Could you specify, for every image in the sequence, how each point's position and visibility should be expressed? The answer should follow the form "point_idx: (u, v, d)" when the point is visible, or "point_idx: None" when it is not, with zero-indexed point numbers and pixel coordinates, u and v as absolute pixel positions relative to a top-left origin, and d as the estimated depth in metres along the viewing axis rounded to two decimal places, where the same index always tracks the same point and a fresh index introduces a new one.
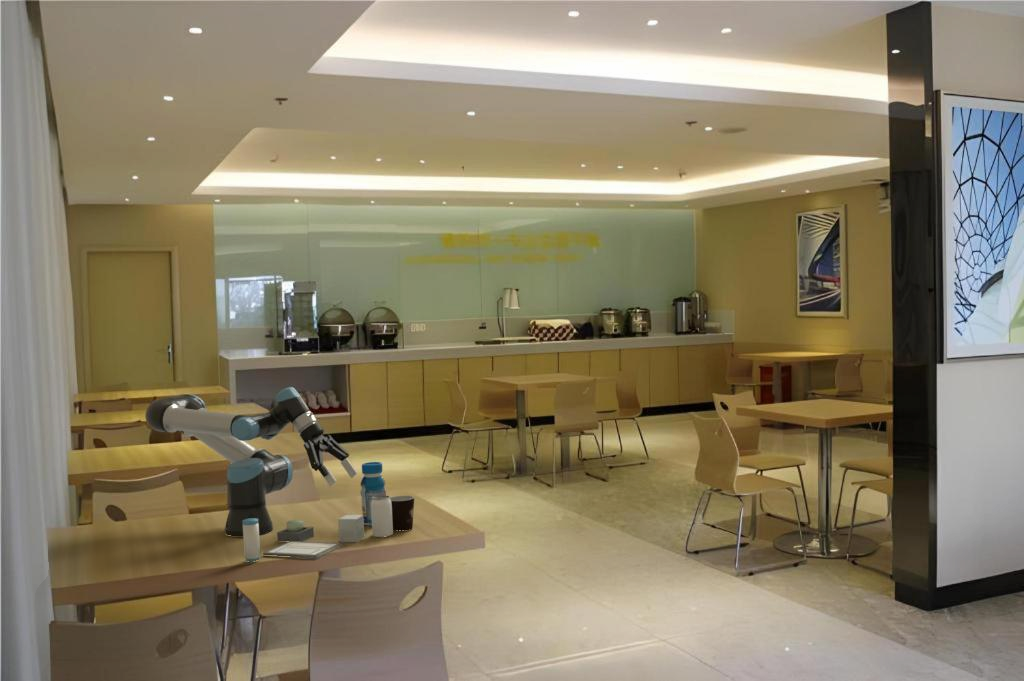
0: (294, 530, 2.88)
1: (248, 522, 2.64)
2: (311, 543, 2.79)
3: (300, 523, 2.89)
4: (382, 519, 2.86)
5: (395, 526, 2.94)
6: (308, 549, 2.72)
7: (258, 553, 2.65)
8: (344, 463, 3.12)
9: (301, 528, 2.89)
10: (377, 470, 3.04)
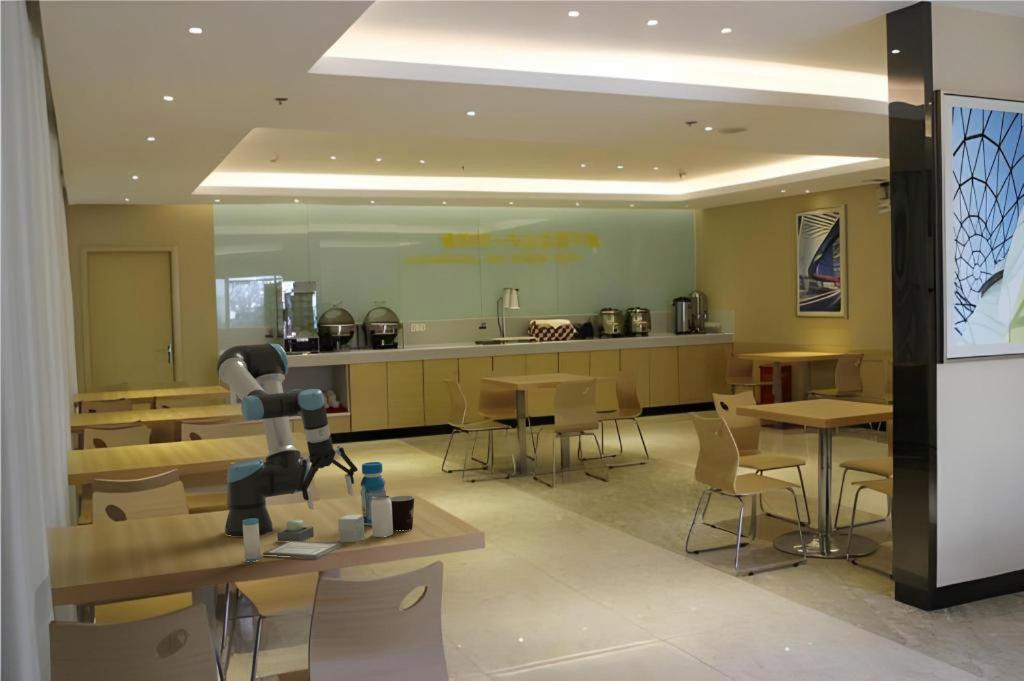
0: (294, 530, 2.88)
1: (248, 522, 2.64)
2: (311, 543, 2.79)
3: (300, 523, 2.89)
4: (382, 519, 2.86)
5: (395, 526, 2.94)
6: (308, 549, 2.72)
7: (258, 553, 2.65)
8: (346, 478, 2.94)
9: (301, 528, 2.89)
10: (377, 470, 3.04)
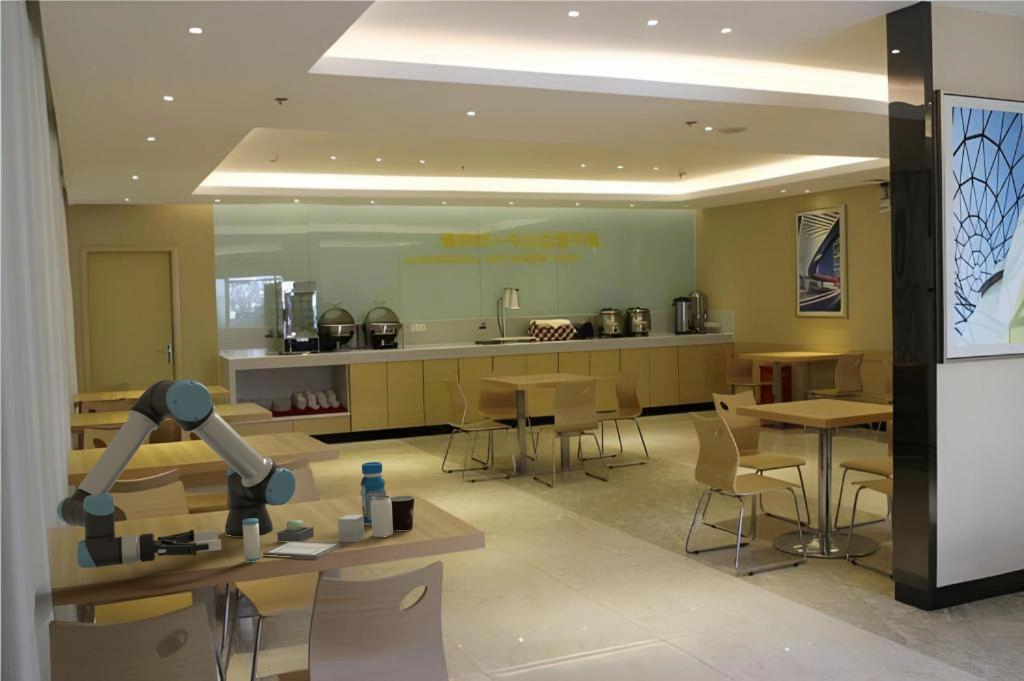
0: (294, 530, 2.88)
1: (248, 522, 2.64)
2: (311, 543, 2.79)
3: (300, 523, 2.89)
4: (382, 519, 2.86)
5: (395, 526, 2.94)
6: (308, 549, 2.72)
7: (258, 553, 2.65)
8: None
9: (301, 528, 2.89)
10: (377, 470, 3.04)
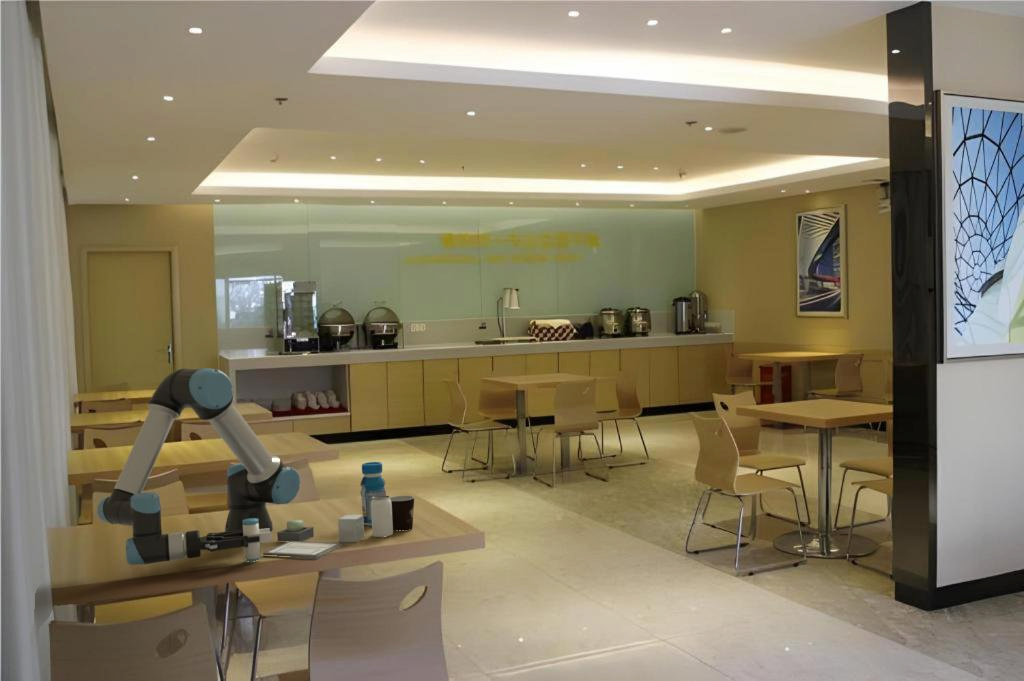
0: (294, 530, 2.88)
1: (248, 522, 2.64)
2: (311, 543, 2.79)
3: (300, 523, 2.89)
4: (382, 519, 2.86)
5: (395, 526, 2.94)
6: (308, 549, 2.72)
7: (258, 553, 2.65)
8: None
9: (301, 528, 2.89)
10: (377, 470, 3.04)
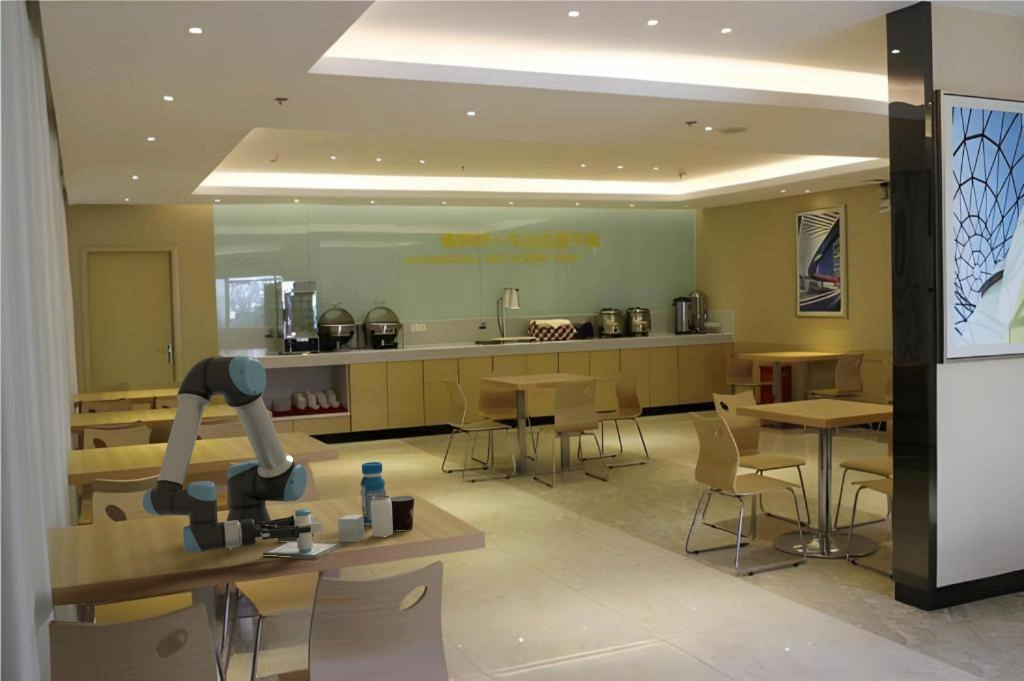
0: None
1: (301, 513, 2.68)
2: None
3: None
4: (382, 519, 2.86)
5: (395, 526, 2.94)
6: None
7: (311, 543, 2.69)
8: None
9: None
10: (377, 470, 3.04)
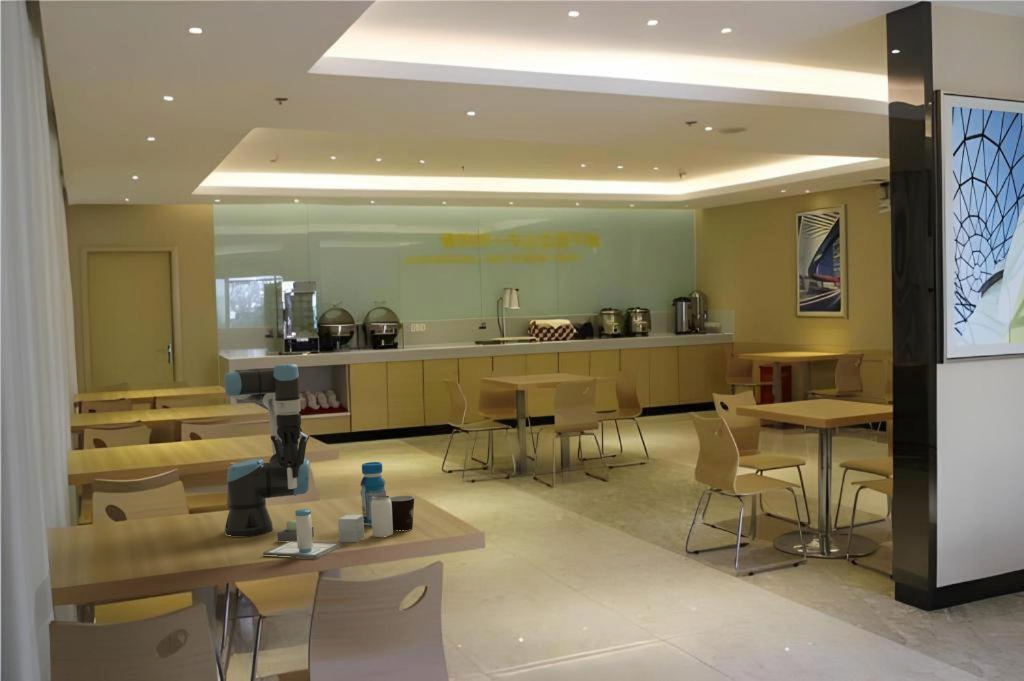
0: (294, 530, 2.88)
1: (301, 513, 2.68)
2: None
3: None
4: (382, 519, 2.86)
5: (395, 526, 2.94)
6: None
7: (311, 543, 2.69)
8: None
9: None
10: (377, 470, 3.04)
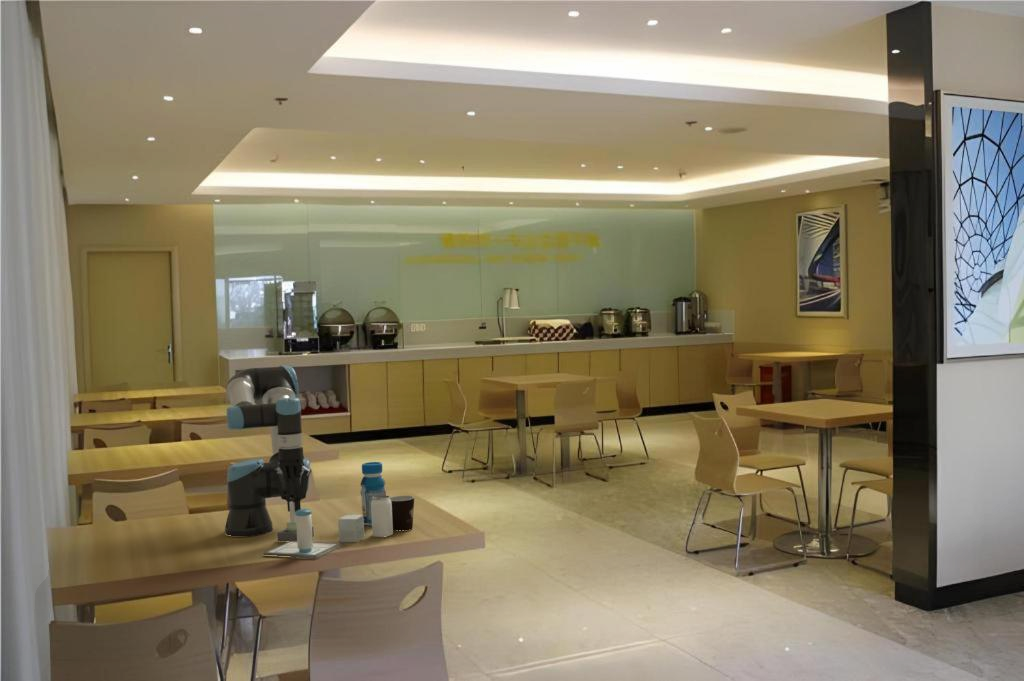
0: (294, 531, 2.88)
1: (302, 513, 2.68)
2: None
3: None
4: (382, 519, 2.86)
5: (395, 526, 2.94)
6: None
7: (311, 543, 2.69)
8: None
9: None
10: (377, 470, 3.04)
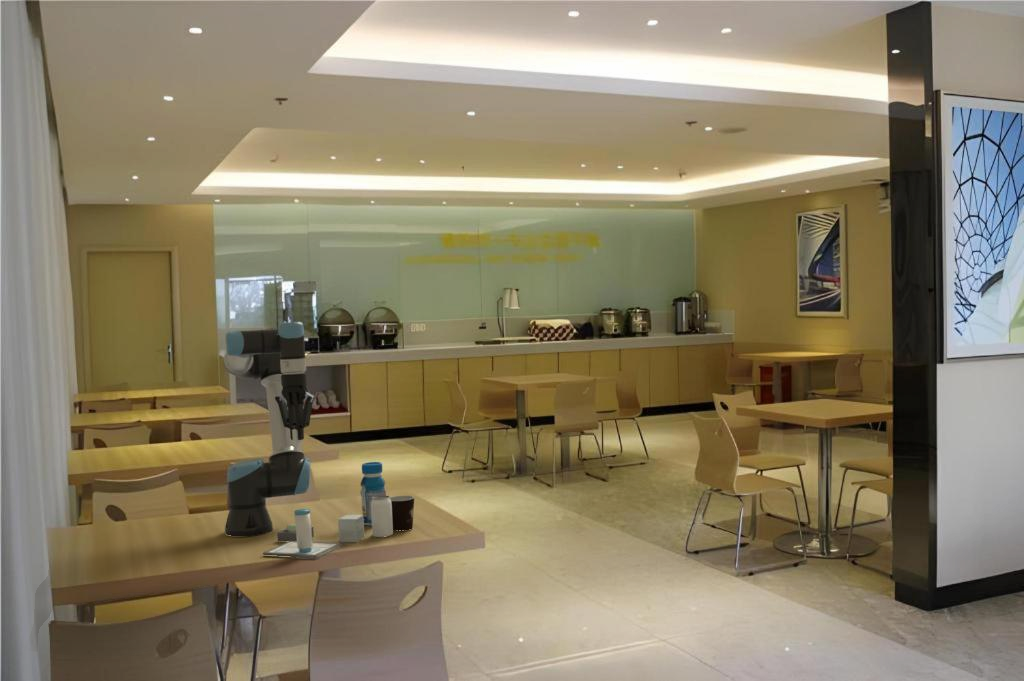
0: None
1: (301, 512, 2.68)
2: None
3: None
4: (382, 519, 2.86)
5: (395, 526, 2.94)
6: None
7: (311, 543, 2.70)
8: None
9: None
10: (377, 470, 3.04)
